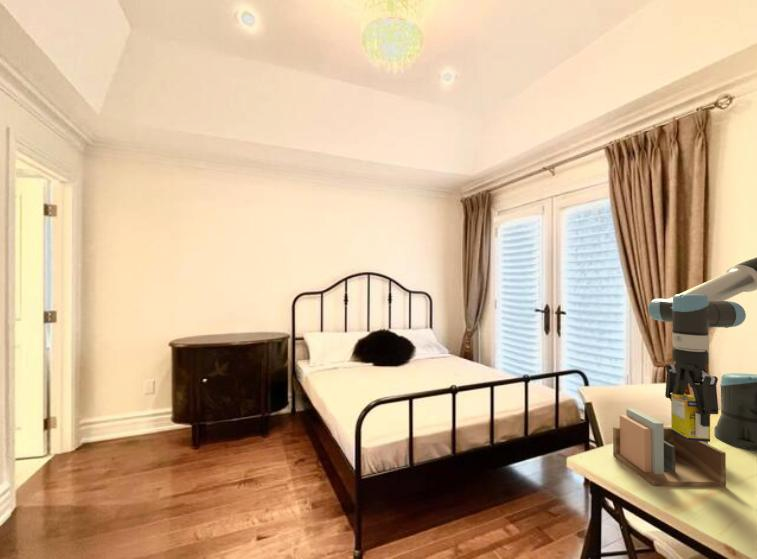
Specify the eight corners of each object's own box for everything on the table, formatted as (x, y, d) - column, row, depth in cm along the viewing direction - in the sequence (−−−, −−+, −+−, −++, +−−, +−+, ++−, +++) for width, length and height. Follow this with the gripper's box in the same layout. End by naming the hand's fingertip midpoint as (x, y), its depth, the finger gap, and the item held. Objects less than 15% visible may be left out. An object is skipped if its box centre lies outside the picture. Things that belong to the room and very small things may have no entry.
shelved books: (634, 454, 105) (634, 408, 105) (663, 474, 94) (663, 423, 94) (619, 453, 105) (619, 408, 105) (647, 473, 94) (647, 423, 94)
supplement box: (711, 442, 92) (711, 401, 92) (686, 440, 92) (686, 400, 93) (693, 432, 98) (693, 394, 98) (670, 431, 98) (670, 393, 98)
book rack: (674, 456, 106) (674, 427, 106) (725, 486, 90) (725, 452, 90) (613, 455, 107) (613, 426, 107) (653, 485, 91) (653, 452, 91)
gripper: (649, 342, 105) (649, 417, 105) (709, 356, 86) (709, 447, 85) (673, 343, 105) (674, 417, 105) (739, 356, 86) (739, 448, 85)
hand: (690, 431), depth 95 cm, fingers closed on supplement box, 6 cm apart
